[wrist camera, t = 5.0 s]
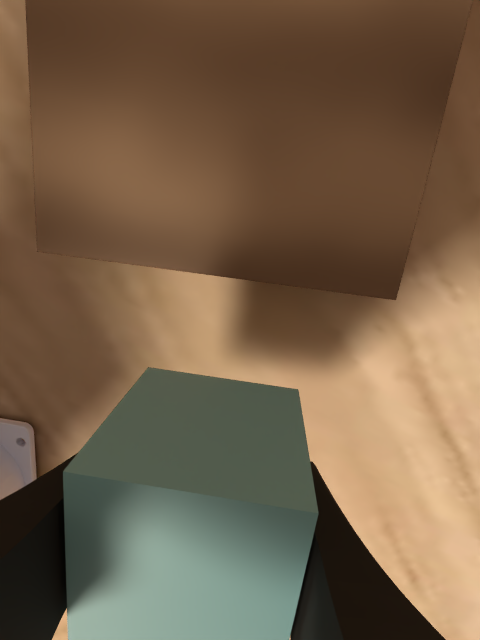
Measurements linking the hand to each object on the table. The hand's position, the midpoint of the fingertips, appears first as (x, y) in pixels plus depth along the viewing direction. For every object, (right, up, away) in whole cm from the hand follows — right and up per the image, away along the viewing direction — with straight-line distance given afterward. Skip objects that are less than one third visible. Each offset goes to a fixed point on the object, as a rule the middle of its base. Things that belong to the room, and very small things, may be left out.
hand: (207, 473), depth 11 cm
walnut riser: (+1, +13, +3) cm, 14 cm away
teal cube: (0, 0, +1) cm, 2 cm away
